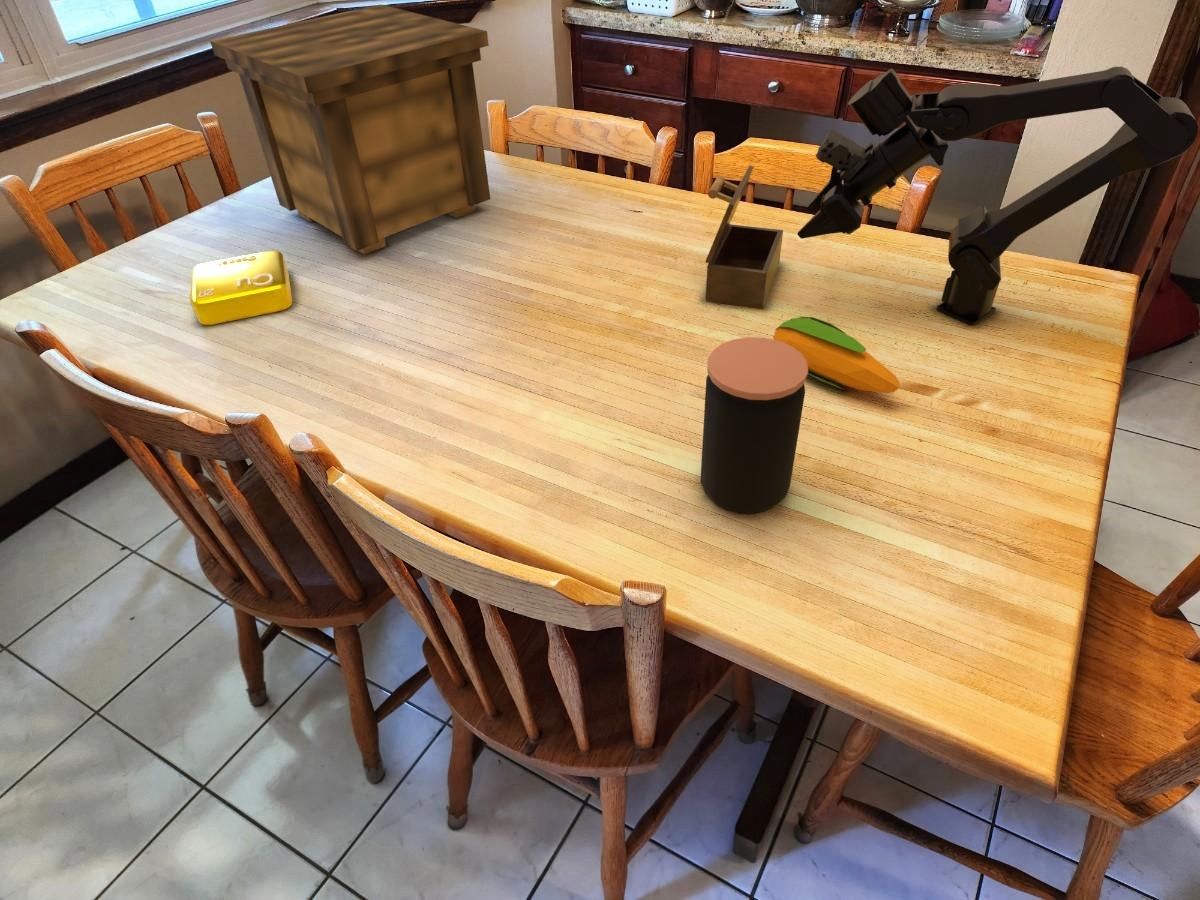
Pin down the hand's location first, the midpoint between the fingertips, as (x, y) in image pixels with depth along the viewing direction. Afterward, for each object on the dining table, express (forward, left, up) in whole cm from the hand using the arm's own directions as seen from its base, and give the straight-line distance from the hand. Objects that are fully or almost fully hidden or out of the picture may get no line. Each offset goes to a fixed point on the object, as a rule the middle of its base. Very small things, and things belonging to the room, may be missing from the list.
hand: (803, 223), depth 124 cm
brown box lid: (+9, +6, 0) cm, 11 cm away
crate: (+75, +38, -12) cm, 85 cm away
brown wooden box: (+7, +5, -11) cm, 14 cm away
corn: (-20, +15, -12) cm, 28 cm away
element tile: (+60, +72, -12) cm, 94 cm away
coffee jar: (-28, +41, -12) cm, 51 cm away
